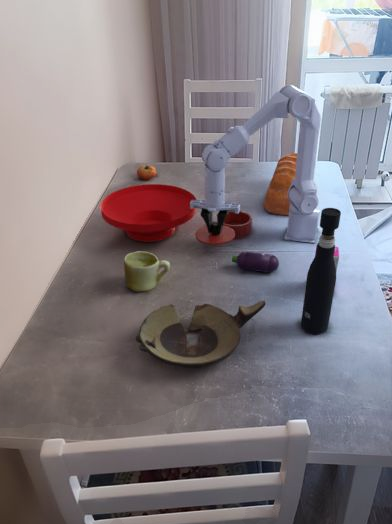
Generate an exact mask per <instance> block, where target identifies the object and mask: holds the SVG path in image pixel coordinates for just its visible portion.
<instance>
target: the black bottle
mask: <svg viewBox="0 0 392 524" xmlns="http://www.w3.org/2000/svg"><path fill="white" fill-rule="evenodd" d="M341 215H342V211H341V210H340V209H338V208H335V207H325V208H322V210H321V211H320V218H319V227H320V228H321V234H320V235H319V237H318V243H317V244H316V246H317V250H316V249H315V252H316V256H315V255H314V257H313V259H312V261H311V263H310V264H309V268H308V270H307V273H306V281H305V288H304V295H303V303H302V312H301V320H300V327H301V329H302V330H303V331H304V332H305V333H307V334H310V335H316V336H317V335H323V334H325V333H326V332H327V331H328V329H329V325H330V324H329V323H330V318H331V312H332V306H333V300H334V294H335V289H336V283H337V272H336V266H335V261H334V251H335V247H336V237H335V231H336V230H337V229H339V226H340V223H341V222H340V221H341Z"/></svg>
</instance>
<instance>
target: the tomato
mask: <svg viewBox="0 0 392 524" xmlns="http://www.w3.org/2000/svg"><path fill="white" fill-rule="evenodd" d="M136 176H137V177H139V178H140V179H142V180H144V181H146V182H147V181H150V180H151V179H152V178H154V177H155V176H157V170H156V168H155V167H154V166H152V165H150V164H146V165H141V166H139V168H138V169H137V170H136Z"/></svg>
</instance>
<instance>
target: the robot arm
mask: <svg viewBox="0 0 392 524" xmlns="http://www.w3.org/2000/svg"><path fill="white" fill-rule="evenodd" d="M289 114H290V116H291V117H292V118H295V120H296V121H297V122H299V130H298V141H297V152H296V153H297V162H296V173H295V178H294V179H293V180H292V181H291V186H290V188H289V190H288V193H287V197H288V199H289V201H290V208H289V215H288V220H287V229H286V232H285V234H284V237H283V240H286V241H295V242H303V243H312V244H314V243H316V240H317V235H318V234H319V224H320V217H321V211H320V210H317V208H318V206H319V197H318V196H317V192H318V190H317V186H316V183H315V180H313V179H315V169H316V160H317V153H318V143H319V134H320V126H321V114H320V112H319V109H318V107H317V105H316V99H315V98H314V97H313V96H311V95H310V94H309V93H307V92H305V91H303V90H300V89H299V88H298V87H296V86H295V85H292V84H287V85H285V86H283V87H282V88H280V89H279V90H278V91H276V92H275V93H274V94H273V95H272V96H271V98H270V99H269V100H268V101H267V102H266V103H265V104H264V105H262V107H261V108H260V109H259V110H258V111H256V112H255V113H254V114H253V115H252V116H251V117H250V118H249V119H248V120H247V121H246V122H245V123H243V125H234V126H233V127H232V126H230V127H229V128H227V132H226V133H225V134H223V135H222V136H221V137H220V138H218V140H217V139H215V140H214V141H213V143H212V144H208V145H207V146H205V148H204V149H203V151H202V152H201V153H202V154H201V155H200V157H201V160H202V161H203V163H204V176H203V177H204V199H196V200H192V201H191V202H190V209H194V208H196V209H198V210H199V209H200V210H201V211H200V216H201V218H202V220H203V221H204V223H205V226H207V229H208V233H211V223H212V222H213V213H215V212H216V211H218V213H217V214H216V220H217V219H218V234H221V232H222V228H223V224H224V221H225V218H226V216H227V214H228V212H235V213H236V214H238V213H239V211H241V204H237V203H234V202H229V201H226V173H225V171H226V170H225V168H226V167H227V166H228V163H229V160H230V159H231V158H232V157H234V156H235V155H236V154H237V153H239V152H240V151H241V150H242V149H243V148H245V147H246V146H247V145H248V144H249V143H250V137H251V136H253V134H255V133H256V132H258V131H259V130H260V129H262V128H263V127H265V126H266V125H267V124H268V123H270V122H271V121H273V120H274V119H289Z"/></svg>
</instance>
